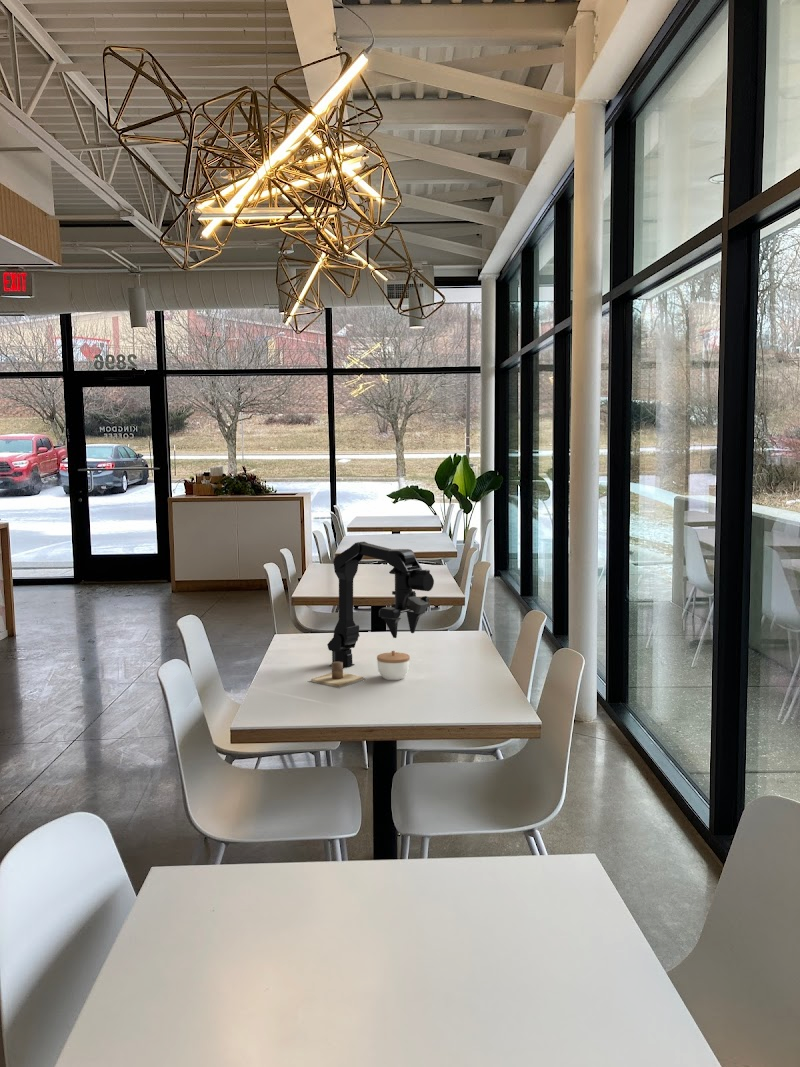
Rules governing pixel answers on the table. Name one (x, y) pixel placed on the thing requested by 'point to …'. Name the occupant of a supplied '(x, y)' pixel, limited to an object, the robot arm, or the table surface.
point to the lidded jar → (393, 665)
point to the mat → (338, 687)
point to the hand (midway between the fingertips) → (403, 635)
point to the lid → (337, 676)
